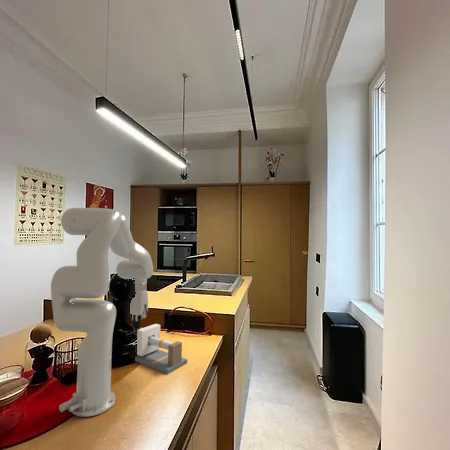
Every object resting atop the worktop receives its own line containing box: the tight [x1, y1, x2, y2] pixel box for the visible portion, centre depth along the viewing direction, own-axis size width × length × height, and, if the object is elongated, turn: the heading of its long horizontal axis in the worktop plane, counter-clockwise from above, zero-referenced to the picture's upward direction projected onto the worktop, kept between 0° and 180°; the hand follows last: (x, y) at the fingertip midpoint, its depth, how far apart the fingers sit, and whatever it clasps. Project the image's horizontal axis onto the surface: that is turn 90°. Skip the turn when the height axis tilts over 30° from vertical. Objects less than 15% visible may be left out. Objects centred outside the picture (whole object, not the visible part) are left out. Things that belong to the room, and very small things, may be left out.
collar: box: [136, 323, 161, 356], centre depth 122 cm, size 10×3×10 cm, turn 147°
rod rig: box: [134, 336, 188, 375], centre depth 119 cm, size 11×22×9 cm, turn 57°
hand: (136, 329), depth 126 cm, fingers closed
